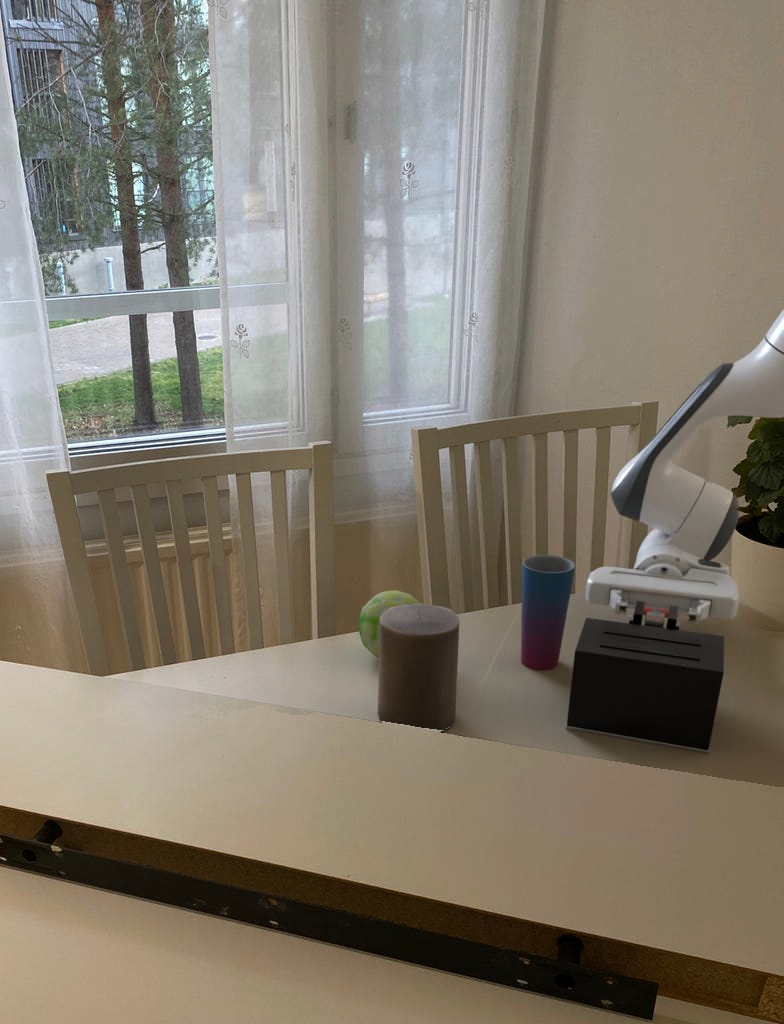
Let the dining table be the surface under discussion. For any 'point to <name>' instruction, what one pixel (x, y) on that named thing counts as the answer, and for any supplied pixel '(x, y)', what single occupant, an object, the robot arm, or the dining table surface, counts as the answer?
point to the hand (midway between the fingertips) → (656, 613)
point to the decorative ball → (372, 613)
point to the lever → (655, 617)
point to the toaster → (646, 684)
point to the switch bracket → (639, 611)
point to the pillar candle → (418, 666)
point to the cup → (544, 609)
